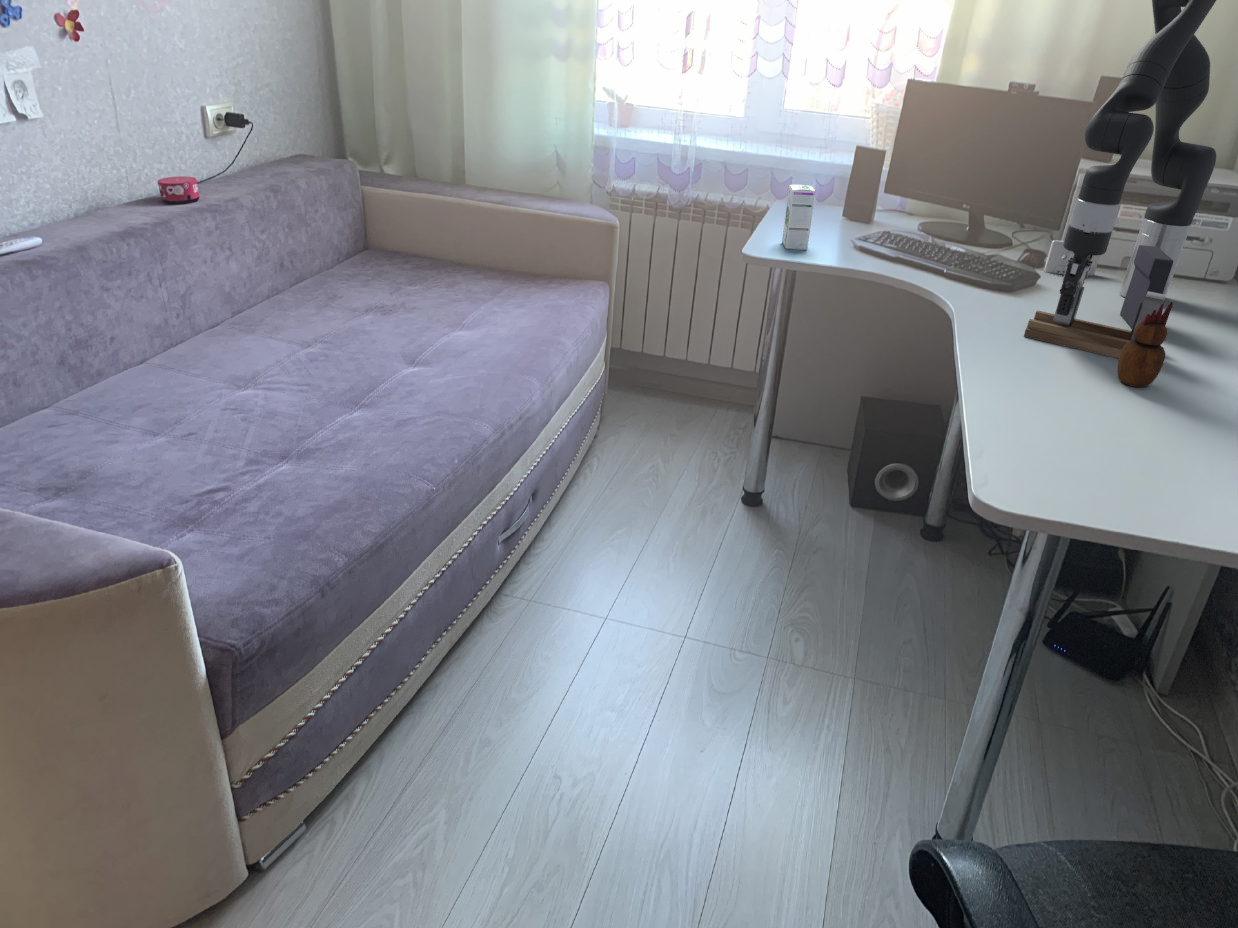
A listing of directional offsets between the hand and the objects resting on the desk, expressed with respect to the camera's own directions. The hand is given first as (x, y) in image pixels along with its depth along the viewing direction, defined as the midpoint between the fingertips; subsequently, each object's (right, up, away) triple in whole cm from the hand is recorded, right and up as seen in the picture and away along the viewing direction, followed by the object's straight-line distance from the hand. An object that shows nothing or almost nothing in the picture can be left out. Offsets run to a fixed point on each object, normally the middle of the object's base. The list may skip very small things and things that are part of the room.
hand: (1066, 309), depth 181 cm
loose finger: (0, -4, +2) cm, 4 cm away
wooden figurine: (+4, -16, -17) cm, 24 cm away
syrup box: (-43, +24, +51) cm, 71 cm away
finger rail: (+5, -7, 0) cm, 8 cm away
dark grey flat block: (+20, -1, +13) cm, 24 cm away
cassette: (+22, +16, +44) cm, 52 cm away
